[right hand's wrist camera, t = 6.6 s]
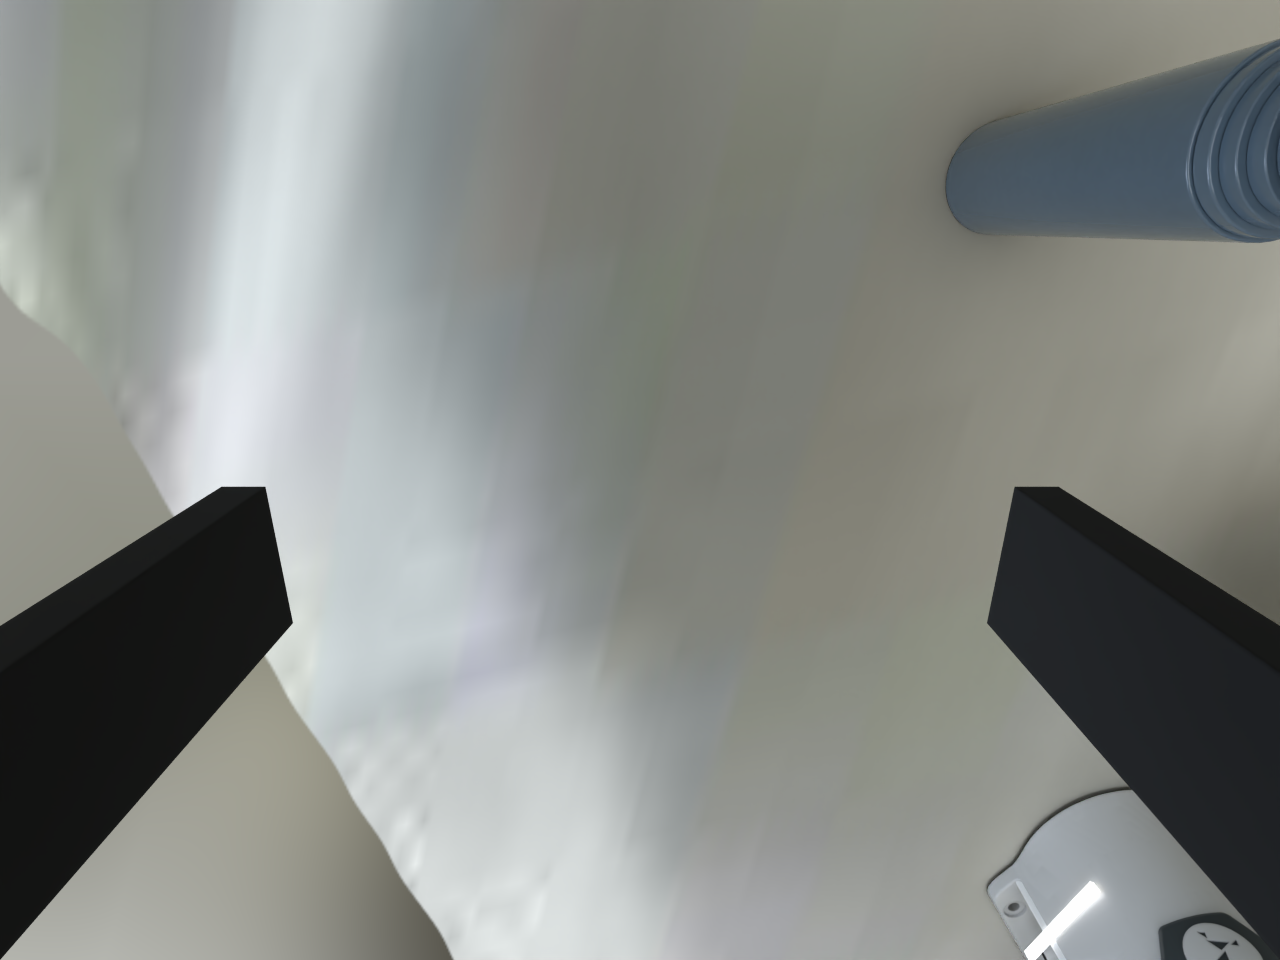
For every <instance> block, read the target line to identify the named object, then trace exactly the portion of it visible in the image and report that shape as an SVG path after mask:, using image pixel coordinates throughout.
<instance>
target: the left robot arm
mask: <svg viewBox="0 0 1280 960" xmlns="http://www.w3.org/2000/svg"><path fill="white" fill-rule="evenodd" d="M987 892H988V895H989V897H990V899H991V901H992V902H993V904H994V906H995V907H996V909H997V911H998V913H999V914H1000V916H1001V918H1002V920H1003V921H1004V923H1005V925H1006V926H1007V928H1008V930H1009V932H1010V933H1011V935H1012V937H1013V938H1014V940H1015V942H1016V944H1017V945H1018V947H1019V949H1020V951H1021V952H1022V954H1023V956H1024V957H1025V959H1026V960H1280V959H1279V958H1278V957H1277V956H1276V955H1275V954H1274V952H1273V951H1272V950H1271V949H1270V948H1269V947H1268V946H1267V944H1266V943H1265V942H1264V941H1263V940H1262V939H1261V937H1260V936H1259V935H1258V934H1257V933H1256V932H1255V931H1254V929H1253V928H1252V927H1251V926H1250V925H1249V924H1248V923H1247V921H1246V920H1245V919H1244V918H1243V917H1242V916H1241V914H1240V913H1239V912H1238V911H1237V910H1236V909H1235V908H1234V906H1233V905H1232V904H1231V903H1230V902H1229V901H1228V900H1227V898H1226V897H1225V896H1224V895H1223V894H1222V893H1221V891H1220V890H1219V889H1218V888H1217V887H1216V886H1215V885H1214V883H1213V882H1212V881H1211V880H1210V879H1209V878H1208V877H1207V875H1206V874H1205V873H1204V872H1203V871H1202V870H1201V868H1200V867H1199V866H1198V865H1197V864H1196V863H1195V862H1194V860H1193V859H1192V858H1191V857H1190V856H1189V855H1188V854H1187V852H1186V851H1185V850H1184V849H1183V848H1182V847H1181V845H1180V844H1179V843H1178V842H1177V841H1176V840H1175V839H1174V837H1173V836H1172V835H1171V834H1170V833H1169V832H1168V831H1167V829H1166V828H1165V827H1164V826H1163V825H1162V824H1161V822H1160V821H1159V820H1158V819H1157V818H1156V817H1155V816H1154V814H1153V813H1152V812H1151V811H1150V810H1149V809H1148V808H1147V806H1146V805H1145V804H1144V803H1143V802H1142V801H1141V799H1140V798H1139V797H1138V796H1137V795H1136V794H1135V793H1134V791H1133V790H1122V791H1115V792H1109V793H1105V794H1101V795H1098V796H1094V797H1091V798H1088V799H1086V800H1083V801H1081V802H1078V803H1076V804H1074V805H1072V806H1070V807H1068V808H1066V809H1065V810H1063V811H1061V812H1060V813H1058V814H1057V815H1055V816H1054V817H1052V818H1051V819H1050V820H1048V821H1047V822H1046V823H1045V824H1044V825H1043V826H1042V827H1041V828H1039V829H1038V830H1037V832H1036V833H1035V834H1034V835H1033V836H1032V837H1031V839H1030V840H1029V841H1028V843H1027V844H1026V846H1025V847H1024V849H1023V851H1022V852H1021V854H1020V856H1019V857H1018V859H1017V860H1016V862H1015V863H1014V864H1013V865H1012V866H1011V867H1009V868H1008V869H1007V870H1005V871H1004V872H1003V873H1002V874H1000V875H999V876H998V877H997V878H996V879H994V880H993V881H992V882H991V884H990V885H989V887H988V890H987Z"/></svg>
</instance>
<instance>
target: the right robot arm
mask: <svg viewBox="0 0 1280 960" xmlns="http://www.w3.org/2000/svg"><path fill="white" fill-rule="evenodd" d="M292 623H293V621H292V616H291V611H290V607H289V602H288V597H287V592H286V587H285V582H284V577H283V572H282V567H281V562H280V557H279V552H278V547H277V542H276V537H275V532H274V527H273V522H272V518H271V513H270V508H269V503H268V498H267V493H266V488H265V487H221V488H219V489H217V490H216V491H214V492H213V493H211V494H209V495H208V496H206V497H205V498H203V499H201V500H200V501H198V502H197V503H195V504H193V505H192V506H190V507H189V508H187V509H186V510H184V511H182V512H181V513H179V514H178V515H176V516H174V517H173V518H171V519H170V520H168V521H166V522H165V523H163V524H162V525H160V526H159V527H157V528H155V529H154V530H152V531H151V532H149V533H147V534H146V535H144V536H143V537H141V538H139V539H138V540H136V541H135V542H133V543H132V544H130V545H128V546H127V547H125V548H124V549H122V550H120V551H119V552H117V553H116V554H114V555H112V556H111V557H109V558H108V559H106V560H104V561H103V562H101V563H100V564H98V565H96V566H95V567H93V568H92V569H90V570H89V571H87V572H85V573H84V574H82V575H81V576H79V577H77V578H76V579H74V580H73V581H71V582H69V583H68V584H66V585H65V586H63V587H61V588H60V589H58V590H57V591H55V592H54V593H52V594H50V595H49V596H47V597H46V598H44V599H42V600H41V601H39V602H38V603H36V604H34V605H33V606H31V607H30V608H28V609H27V610H25V611H23V612H22V613H20V614H19V615H17V616H15V617H14V618H12V619H11V620H9V621H7V622H6V623H4V624H3V625H1V626H0V959H1V958H2V957H3V956H4V955H5V954H6V952H7V951H8V950H9V949H10V948H11V947H12V946H13V944H14V943H15V942H16V941H17V940H18V939H19V937H20V936H21V935H22V934H23V933H24V932H25V931H26V929H27V928H28V927H29V926H30V925H31V924H32V923H33V921H34V920H35V919H36V918H37V917H38V916H39V914H40V913H41V912H42V911H43V910H44V909H45V908H46V906H47V905H48V904H49V903H50V902H51V901H52V900H53V898H54V897H55V896H56V895H57V894H58V893H59V891H60V890H61V889H62V888H63V887H64V886H65V885H66V883H67V882H68V881H69V880H70V879H71V878H72V877H73V875H74V874H75V873H76V872H77V871H78V870H79V868H80V867H81V866H82V865H83V864H84V863H85V862H86V860H87V859H88V858H89V857H90V856H91V855H92V853H93V852H94V851H95V850H96V849H97V848H98V847H99V845H100V844H101V843H102V842H103V841H104V840H105V839H106V837H107V836H108V835H109V834H110V833H111V832H112V831H113V829H114V828H115V827H116V826H117V825H118V824H119V822H120V821H121V820H122V819H123V818H124V817H125V816H126V814H127V813H128V812H129V811H130V810H131V809H132V808H133V806H134V805H135V804H136V803H137V802H138V801H139V799H140V798H141V797H142V796H143V795H144V794H145V793H146V791H147V790H148V789H149V788H150V787H151V786H152V785H153V783H154V782H155V781H156V780H157V779H158V778H159V776H160V775H161V774H162V773H163V772H164V771H165V770H166V768H167V767H168V766H169V765H170V764H171V763H172V761H173V760H174V759H175V758H176V757H177V756H178V755H179V753H180V752H181V751H182V750H183V749H184V748H185V747H186V745H187V744H188V743H189V742H190V741H191V740H192V738H193V737H194V736H195V735H196V734H197V733H198V731H199V730H200V729H201V728H202V727H203V726H204V725H205V724H206V722H207V721H208V720H209V719H210V718H211V717H212V715H213V714H214V713H215V712H216V711H217V710H218V709H219V707H220V706H221V705H222V704H223V703H224V702H225V701H226V699H227V698H228V697H229V696H230V695H231V694H232V692H233V691H234V690H235V689H236V688H237V687H238V686H239V684H240V683H241V682H242V681H243V680H244V679H245V678H246V676H247V675H248V674H249V673H250V672H251V671H252V669H253V668H254V667H255V666H256V665H257V664H258V663H259V661H260V660H261V659H262V658H263V657H264V656H265V655H266V653H267V652H268V651H269V650H270V649H271V648H272V646H273V645H274V644H275V643H276V642H277V641H278V640H279V638H280V637H281V636H282V635H283V634H284V633H285V632H286V630H287V629H288V628H289V627H290V626H291V625H292ZM987 623H988V625H989V626H990V627H991V628H992V629H993V630H994V632H995V633H996V634H997V635H998V636H999V637H1000V638H1001V640H1002V641H1003V642H1004V643H1005V644H1006V645H1007V646H1008V648H1009V649H1010V650H1011V651H1012V652H1013V653H1014V655H1015V656H1016V657H1017V658H1018V659H1019V660H1020V661H1021V663H1022V664H1023V665H1024V666H1025V667H1026V668H1027V669H1028V671H1029V672H1030V673H1031V674H1032V675H1033V676H1034V678H1035V679H1036V680H1037V681H1038V682H1039V683H1040V684H1041V686H1042V687H1043V688H1044V689H1045V690H1046V691H1047V692H1048V694H1049V695H1050V696H1051V697H1052V698H1053V699H1054V701H1055V702H1056V703H1057V704H1058V705H1059V706H1060V707H1061V709H1062V710H1063V711H1064V712H1065V713H1066V714H1067V715H1068V717H1069V718H1070V719H1071V720H1072V721H1073V722H1074V724H1075V725H1076V726H1077V727H1078V728H1079V729H1080V730H1081V732H1082V733H1083V734H1084V735H1085V736H1086V737H1087V738H1088V740H1089V741H1090V742H1091V743H1092V744H1093V745H1094V747H1095V748H1096V749H1097V750H1098V751H1099V752H1100V753H1101V755H1102V756H1103V757H1104V758H1105V759H1106V760H1107V761H1108V763H1109V764H1110V765H1111V766H1112V767H1113V768H1114V770H1115V771H1116V772H1117V773H1118V774H1119V775H1120V776H1121V778H1122V779H1123V780H1124V781H1125V782H1126V783H1127V785H1128V786H1129V787H1130V788H1131V789H1132V790H1133V791H1134V793H1135V794H1136V795H1137V796H1138V797H1139V798H1140V799H1141V801H1142V802H1143V803H1144V804H1145V805H1146V806H1147V808H1148V809H1149V810H1150V811H1151V812H1152V813H1153V814H1154V816H1155V817H1156V818H1157V819H1158V820H1159V821H1160V822H1161V824H1162V825H1163V826H1164V827H1165V828H1166V829H1167V831H1168V832H1169V833H1170V834H1171V835H1172V836H1173V837H1174V839H1175V840H1176V841H1177V842H1178V843H1179V844H1180V845H1181V847H1182V848H1183V849H1184V850H1185V851H1186V852H1187V854H1188V855H1189V856H1190V857H1191V858H1192V859H1193V860H1194V862H1195V863H1196V864H1197V865H1198V866H1199V867H1200V868H1201V870H1202V871H1203V872H1204V873H1205V874H1206V875H1207V877H1208V878H1209V879H1210V880H1211V881H1212V882H1213V883H1214V885H1215V886H1216V887H1217V888H1218V889H1219V890H1220V891H1221V893H1222V894H1223V895H1224V896H1225V897H1226V898H1227V900H1228V901H1229V902H1230V903H1231V904H1232V905H1233V906H1234V908H1235V909H1236V910H1237V911H1238V912H1239V913H1240V914H1241V916H1242V917H1243V918H1244V919H1245V920H1246V921H1247V923H1248V924H1249V925H1250V926H1251V927H1252V928H1253V929H1254V931H1255V932H1256V933H1257V934H1258V935H1259V936H1260V937H1261V939H1262V940H1263V941H1264V942H1265V943H1266V944H1267V946H1268V947H1269V948H1270V949H1271V950H1272V951H1273V952H1274V954H1275V955H1276V956H1277V957H1278V958H1279V959H1280V626H1279V625H1277V624H1276V623H1274V622H1273V621H1271V620H1269V619H1268V618H1266V617H1265V616H1263V615H1261V614H1260V613H1258V612H1257V611H1255V610H1254V609H1252V608H1250V607H1249V606H1247V605H1246V604H1244V603H1242V602H1241V601H1239V600H1238V599H1236V598H1234V597H1233V596H1231V595H1230V594H1228V593H1226V592H1225V591H1223V590H1222V589H1220V588H1219V587H1217V586H1215V585H1214V584H1212V583H1211V582H1209V581H1207V580H1206V579H1204V578H1203V577H1201V576H1199V575H1198V574H1196V573H1195V572H1193V571H1191V570H1190V569H1188V568H1187V567H1185V566H1184V565H1182V564H1180V563H1179V562H1177V561H1176V560H1174V559H1172V558H1171V557H1169V556H1168V555H1166V554H1164V553H1163V552H1161V551H1160V550H1158V549H1157V548H1155V547H1153V546H1152V545H1150V544H1149V543H1147V542H1145V541H1144V540H1142V539H1141V538H1139V537H1137V536H1136V535H1134V534H1133V533H1131V532H1129V531H1128V530H1126V529H1125V528H1123V527H1122V526H1120V525H1118V524H1117V523H1115V522H1114V521H1112V520H1110V519H1109V518H1107V517H1106V516H1104V515H1102V514H1101V513H1099V512H1098V511H1096V510H1094V509H1093V508H1091V507H1090V506H1088V505H1087V504H1085V503H1083V502H1082V501H1080V500H1079V499H1077V498H1075V497H1074V496H1072V495H1071V494H1069V493H1067V492H1066V491H1064V490H1063V489H1061V488H1059V487H1015V488H1014V493H1013V498H1012V503H1011V508H1010V513H1009V518H1008V522H1007V527H1006V532H1005V537H1004V542H1003V547H1002V552H1001V557H1000V562H999V567H998V572H997V577H996V582H995V587H994V592H993V597H992V602H991V607H990V611H989V616H988V621H987Z"/></svg>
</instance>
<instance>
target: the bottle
mask: <svg viewBox="0 0 1280 960" xmlns="http://www.w3.org/2000/svg"><path fill="white" fill-rule="evenodd" d="M946 195H947V200H948V204H949V207H950V209H951V211H952V213H953V215H954V216H955V218H956V219H957V220H958V221H959V222H960V223H961V224H962V225H963V226H965V227H966V228H967V229H969V230H971V231H973V232H976V233H980V234H986V235H1015V236H1047V237H1079V238H1111V239H1143V240H1174V241H1206V242H1238V243H1263V242H1271V241H1275V240H1279V239H1280V39H1277V40H1273V41H1270V42H1266V43H1263V44H1259V45H1256V46H1252V47H1249V48H1246V49H1242V50H1239V51H1235V52H1232V53H1228V54H1225V55H1221V56H1218V57H1214V58H1211V59H1208V60H1204V61H1201V62H1197V63H1194V64H1190V65H1187V66H1183V67H1180V68H1176V69H1173V70H1170V71H1166V72H1163V73H1159V74H1156V75H1152V76H1149V77H1145V78H1142V79H1138V80H1135V81H1132V82H1128V83H1125V84H1121V85H1118V86H1114V87H1111V88H1107V89H1104V90H1100V91H1097V92H1094V93H1090V94H1087V95H1083V96H1080V97H1076V98H1073V99H1069V100H1066V101H1062V102H1059V103H1056V104H1052V105H1049V106H1045V107H1042V108H1038V109H1035V110H1031V111H1028V112H1024V113H1021V114H1018V115H1014V116H1011V117H1007V118H1004V119H1000V120H997V121H993V122H991V123H988V124H986V125H984V126H982V127H980V128H979V129H977V130H976V131H975V132H973V133H972V134H971V135H970V136H969V137H968V138H966V140H965V141H964V142H963V143H962V144H961V145H960V147H959V148H958V150H957V151H956V153H955V155H954V157H953V159H952V161H951V164H950V166H949V170H948V173H947V179H946Z"/></svg>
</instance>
